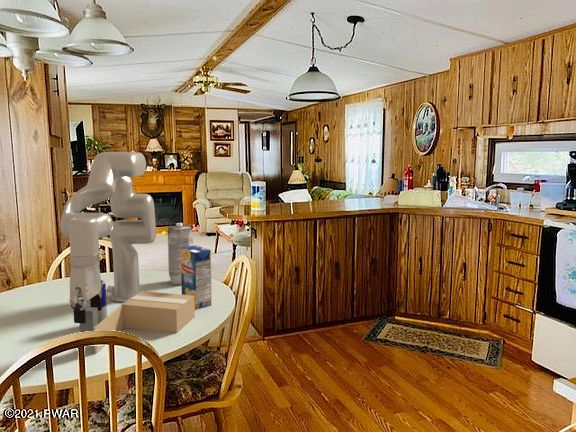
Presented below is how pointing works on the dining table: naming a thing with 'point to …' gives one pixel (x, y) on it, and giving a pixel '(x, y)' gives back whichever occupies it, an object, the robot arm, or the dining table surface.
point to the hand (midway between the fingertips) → (88, 316)
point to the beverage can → (103, 312)
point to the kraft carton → (158, 311)
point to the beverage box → (196, 274)
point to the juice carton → (177, 249)
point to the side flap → (109, 323)
